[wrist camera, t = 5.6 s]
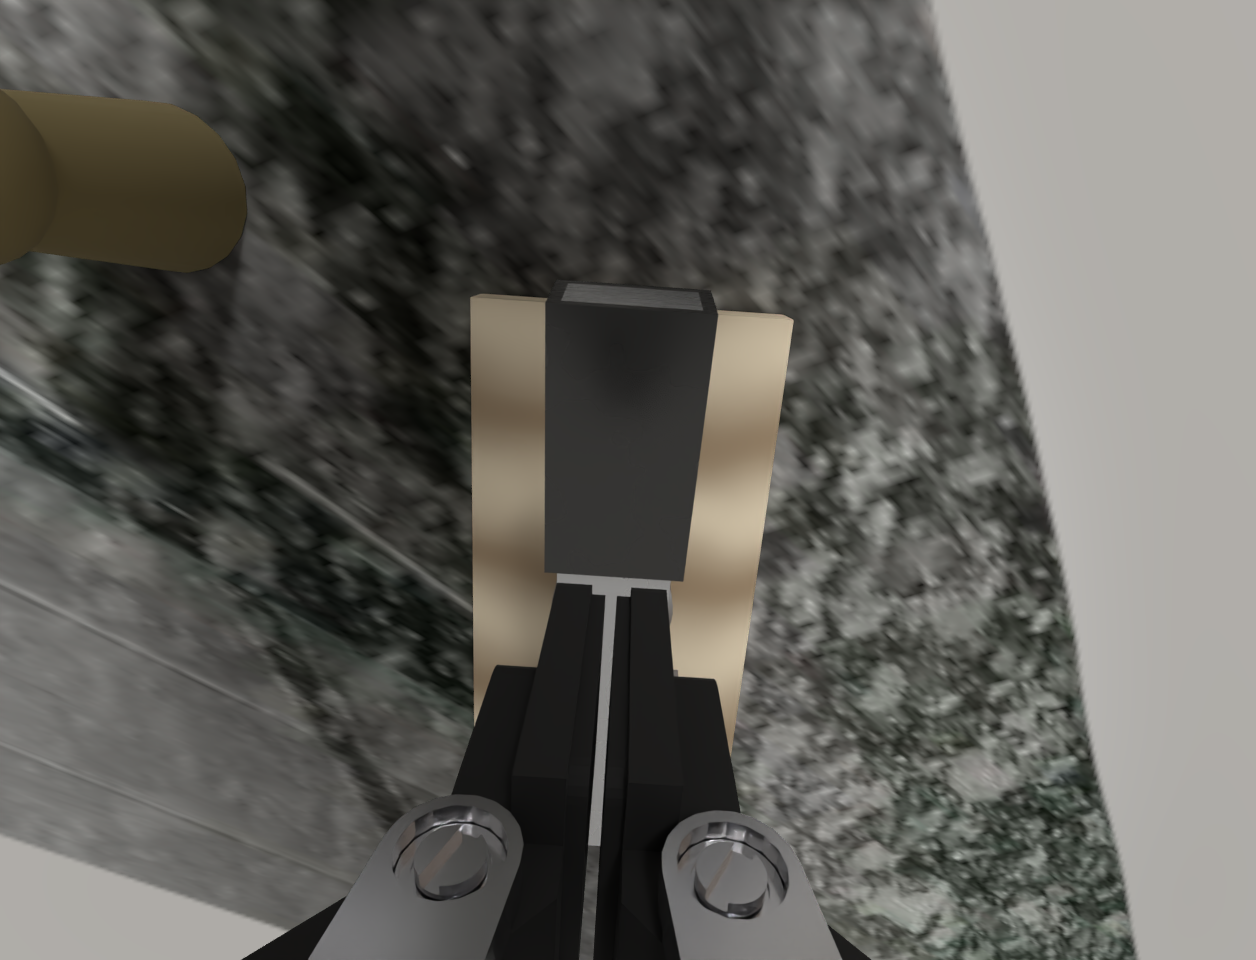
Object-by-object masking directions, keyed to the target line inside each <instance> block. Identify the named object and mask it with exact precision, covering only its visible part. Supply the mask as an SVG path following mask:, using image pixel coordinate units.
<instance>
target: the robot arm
mask: <svg viewBox="0 0 1256 960" xmlns="http://www.w3.org/2000/svg"><path fill="white" fill-rule="evenodd" d="M605 596H606V595H597V594H592V585H587V584H572V583H557V585H556V589H555V593H554V597H553V601H552V606H551V610H550V614H549V618H548V623H547V627H546V631H545V635H544V640H543V644H542V648H541V652H540V657H539V661H538V665H537V667H525V666H510V665H496V666H495V668H494V670H493V672H492V675H491V678H490V681H489V684H488V687H487V690H486V693H485V696H484V699H483V702H482V705H481V708H480V711H479V714H478V717H477V720H476V723H475V726H474V729H473V732H472V735H471V738H470V741H469V744H468V747H467V750H466V753H465V756H464V759H463V762H462V765H461V768H460V771H459V774H458V777H457V780H456V783H455V786H454V789H453V791H452V794H451V795H450V796H445V797H439V798H435V799H432V800H430V801H428V802H425V803H423V804H421V805H418V806H416V807H414V808H413V809H411V810H410V811H409V812H407V813H406V814H405V815H403V816H402V817H400V818H399V819H398V820H397V821H396V822H395V823H394V824H393V826H392V827H391V828H390V829H389V830H388V832H387V833H386V834H385V835H384V837H383V838H382V840H381V842H380V843H379V845H378V846H377V848H376V850H375V851H374V853H373V855H372V856H371V858H370V859H369V861H368V863H367V864H366V866H365V868H364V869H363V871H362V872H361V874H360V876H359V877H358V879H357V881H356V882H355V884H354V885H353V887H352V889H351V890H350V892H349V894H348V895H347V896H346V897H344V898H343V899H341V900H339V901H338V902H336V903H334V904H333V905H331V906H329V907H328V908H326V909H324V910H323V911H321V912H319V913H318V914H316V915H315V916H313V917H311V918H310V919H308V920H306V921H305V922H303V923H301V924H300V925H298V926H296V927H295V928H293V929H291V930H290V931H288V932H286V933H285V934H283V935H281V936H280V937H278V938H276V939H275V940H273V941H272V942H270V943H268V944H266V945H265V946H263V947H262V948H260V949H258V950H257V951H255V952H254V953H252V954H250V955H248V956H247V957H245V958H243V959H242V960H579V951H580V939H581V927H582V914H583V902H584V890H585V877H586V865H587V853H588V841H589V828H590V816H591V804H592V791H593V779H594V767H595V754H596V739H597V724H598V708H599V692H600V676H601V661H602V645H603V629H604V613H605ZM593 960H871V959H870V958H868V957H867V956H866V955H865V954H863V953H862V952H861V951H860V950H858V949H857V948H856V947H855V946H853V945H852V944H851V943H850V942H849V941H847V940H846V939H845V938H844V937H842V936H841V935H840V934H839V933H837V932H836V931H835V930H834V929H832V928H831V927H830V926H829V925H827V923H826V921H825V918H824V916H823V914H822V911H821V909H820V907H819V905H818V902H817V900H816V898H815V895H814V893H813V891H812V888H811V886H810V884H809V881H808V879H807V877H806V874H805V872H804V870H803V867H802V865H801V863H800V861H799V859H798V858H797V856H796V854H795V853H794V851H793V849H792V848H791V846H790V845H789V843H788V842H787V841H785V840H784V839H783V838H782V837H781V836H780V835H779V834H778V833H777V832H776V831H775V830H774V829H773V828H771V827H769V826H767V825H766V824H764V823H762V822H761V821H759V820H757V819H756V818H753V817H750V816H747V815H743V814H741V813H740V807H739V801H738V796H737V790H736V785H735V779H734V774H733V768H732V763H731V757H730V752H729V746H728V741H727V735H726V729H725V724H724V718H723V713H722V707H721V702H720V696H719V691H718V686H717V682H716V680H715V679H710V678H695V677H680V676H674V671H673V660H672V648H671V636H670V624H669V612H668V600H667V590H663V589H648V588H633V587H631V594H630V597H627V596H617V601H616V615H615V630H614V644H613V658H612V673H611V687H610V702H609V716H608V730H607V745H606V760H605V776H604V793H603V809H602V825H601V842H600V858H599V875H598V891H597V907H596V924H595V940H594V956H593Z"/></svg>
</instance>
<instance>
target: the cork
mask: <svg viewBox="0 0 1256 960" xmlns="http://www.w3.org/2000/svg"><path fill="white" fill-rule="evenodd" d="M246 215H247V205H246V190H245V184H244V181H243V179H242V176H241V173H240V170H239V167H238V165H237V162H236V159H235V158H234V156H233V155H232V153H231V152H230V150H229V149H228V148H227V146H226V145H225V143H224V142H223V140H222V139H221V137H220V136H219V135H218V134H217V133H216V132H215V131H214V130H212V129H211V128H210V127H209V126H208V125H207V124H206V123H204V122H203V121H202V120H201V119H200V118H199V117H197V116H196V115H194V114H192V113H189V112H187V111H185V110H183V109H181V108H179V107H177V106H175V105H172V104H167V103H159V102H151V101H142V100H129V99H117V98H104V97H92V96H79V95H67V94H55V93H42V92H30V91H17V90H5V89H0V265H1V264H5V263H7V262H10V261H13V260H15V259H18V258H20V257H22V256H23V255H24V254H26V253H27V252H28V251H33V252H40V253H47V254H54V255H61V256H68V257H75V258H82V259H89V260H96V261H103V262H110V263H117V264H124V265H132V266H139V267H146V268H153V269H160V270H168V271H176V272H184V273H189V272H194V271H198V270H203V269H207V268H210V267H212V266H213V265H215V264H216V263H218V262H219V261H221V260H222V259H224V258H225V257H227V256H228V255H229V254H230V252H231V251H232V249H233V248H234V246H235V245H236V243H237V242H238V240H239V239H240V237H241V235H242V231H243V227H244V223H245V219H246Z"/></svg>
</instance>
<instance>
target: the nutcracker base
mask: <svg viewBox="0 0 1256 960" xmlns="http://www.w3.org/2000/svg"><path fill="white" fill-rule="evenodd" d="M546 300H547V298H539V297H524V296H510V295H496V294H479V295H476V296H473V297H470V311H471V422H472V533H473V644H474V726H475V723H476V720H477V717H478V714H479V711H480V708H481V705H482V702H483V699H484V696H485V693H486V690H487V687H488V684H489V681H490V678H491V675H492V672H493V670H494V668H495V666H496V665H510V666H525V667H537V665H538V661H539V657H540V652H541V648H542V644H543V640H544V635H545V631H546V627H547V623H548V618H549V614H550V610H551V606H552V601H553V597H554V593H555V589H556V585H557V573H544V550H545V302H546ZM717 312H718V322H717V330H716V337H715V345H714V352H713V360H712V368H711V375H710V383H709V390H708V398H707V406H706V413H705V421H704V429H703V436H702V444H701V451H700V459H699V467H698V474H697V482H696V489H695V497H694V505H693V512H692V520H691V527H690V535H689V543H688V550H687V558H686V566H685V573H684V581H683V582H680V581H671V584H670V592H669V600H668V612H669V624H670V636H671V648H672V660H673V671H674V676H680V677H695V678H710V679H715V680H716V682H717V686H718V691H719V696H720V702H721V707H722V713H723V718H724V724H725V729H726V735H727V741H728V746H729V752H730V757H731V751H732V744H733V737H734V730H735V723H736V716H737V709H738V702H739V695H740V688H741V681H742V674H743V668H744V661H745V654H746V647H747V640H748V633H749V626H750V619H751V612H752V605H753V598H754V591H755V585H756V578H757V571H758V564H759V557H760V550H761V543H762V536H763V529H764V522H765V515H766V508H767V501H768V495H769V488H770V481H771V474H772V467H773V460H774V453H775V446H776V439H777V432H778V425H779V418H780V412H781V405H782V398H783V391H784V384H785V377H786V370H787V363H788V356H789V349H790V342H791V335H792V329H793V322H794V320H793V319H791V318H789V317H787V316H785V315H780V314H766V313H752V312H738V311H723V310H717Z"/></svg>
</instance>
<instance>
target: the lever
mask: <svg viewBox="0 0 1256 960" xmlns="http://www.w3.org/2000/svg"><path fill="white" fill-rule="evenodd" d="M717 322H718V312H717V309H716V306H715V303H714V299H713V296H712V293H711V290H697V289H682V288H668V287H654V286H640V285H626V284H612V283H597V282H583V281H569V280H556V282H555V284H554V286H553V288H552V290H551V292H550V294H549V296H548V298H547V300H546V302H545V550H544V573H557V583H572V584H587V585H592V594H597V595H606V596H605V613H604V629H603V645H602V661H601V676H600V692H599V708H598V724H597V739H596V754H595V767H594V779H593V791H592V804H591V816H590V828H589V841H588V845H592V846H600V842H601V825H602V809H603V793H604V776H605V760H606V745H607V730H608V716H609V702H610V687H611V673H612V658H613V644H614V630H615V615H616V601H617V596H627V597H630V594H631V587H633V588H648V589H663V590H667V600H669V592H670V584H671V581H680V582H683V581H684V573H685V566H686V558H687V550H688V543H689V535H690V527H691V520H692V512H693V505H694V497H695V489H696V482H697V474H698V467H699V459H700V451H701V444H702V436H703V429H704V421H705V413H706V406H707V398H708V390H709V383H710V375H711V368H712V360H713V352H714V345H715V337H716V330H717Z"/></svg>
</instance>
